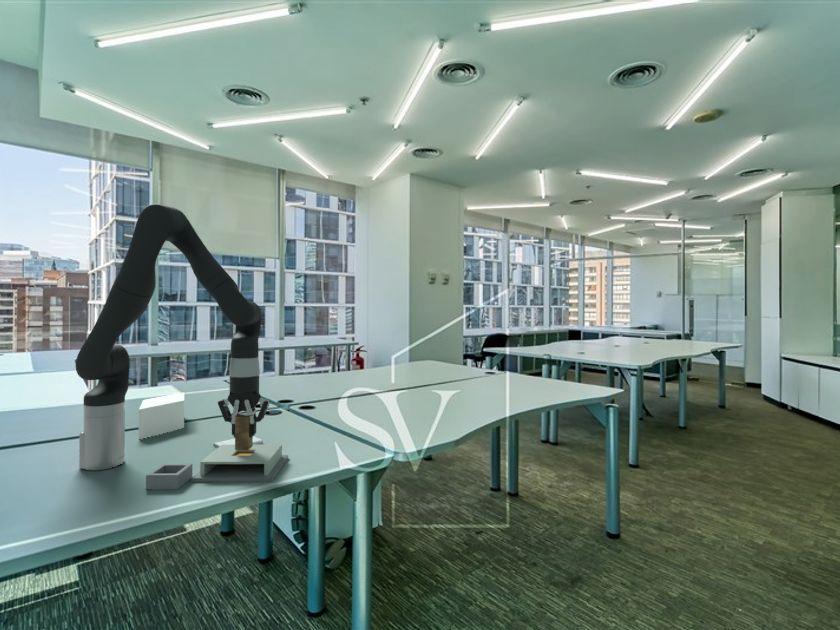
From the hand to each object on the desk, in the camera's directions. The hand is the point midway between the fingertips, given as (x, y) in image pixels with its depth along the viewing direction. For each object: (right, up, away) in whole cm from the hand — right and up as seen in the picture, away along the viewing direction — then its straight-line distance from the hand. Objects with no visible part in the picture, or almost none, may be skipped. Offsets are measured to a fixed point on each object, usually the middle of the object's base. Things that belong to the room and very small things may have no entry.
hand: (244, 436), depth 118 cm
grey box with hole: (0, -9, 0) cm, 9 cm away
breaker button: (0, -7, 0) cm, 7 cm away
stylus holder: (-15, -9, -10) cm, 20 cm away
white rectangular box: (-45, -8, +38) cm, 60 cm away
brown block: (0, -3, 0) cm, 3 cm away
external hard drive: (-10, -9, +21) cm, 25 cm away
